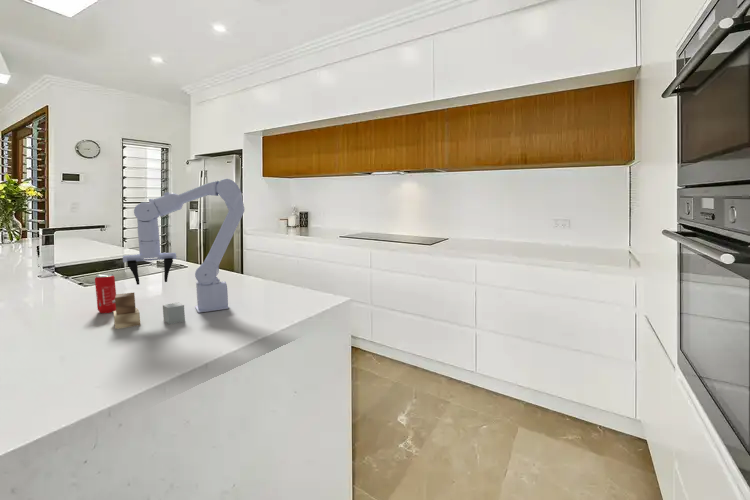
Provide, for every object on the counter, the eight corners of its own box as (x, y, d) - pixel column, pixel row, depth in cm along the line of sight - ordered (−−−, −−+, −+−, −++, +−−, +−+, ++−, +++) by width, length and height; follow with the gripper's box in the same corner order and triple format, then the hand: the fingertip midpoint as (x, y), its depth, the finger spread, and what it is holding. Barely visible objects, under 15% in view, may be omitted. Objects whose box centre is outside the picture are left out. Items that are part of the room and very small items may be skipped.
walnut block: (135, 308, 113) (134, 292, 112) (135, 312, 109) (133, 295, 109) (117, 310, 111) (116, 294, 110) (116, 314, 107) (115, 297, 106)
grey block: (179, 317, 117) (178, 302, 116) (185, 321, 114) (184, 305, 113) (163, 321, 114) (162, 305, 113) (168, 324, 111) (167, 308, 110)
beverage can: (107, 314, 120) (104, 277, 118) (93, 313, 121) (90, 276, 119) (121, 309, 125) (118, 274, 123) (108, 308, 126) (105, 273, 124)
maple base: (138, 320, 115) (137, 307, 114) (140, 325, 110) (139, 312, 109) (114, 324, 111) (113, 311, 110) (115, 329, 106) (114, 316, 106)
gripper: (174, 238, 126) (176, 278, 128) (122, 240, 118) (125, 282, 120) (175, 240, 120) (178, 282, 122) (121, 242, 112) (124, 287, 114)
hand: (152, 282), depth 120 cm, fingers open, 7 cm apart
